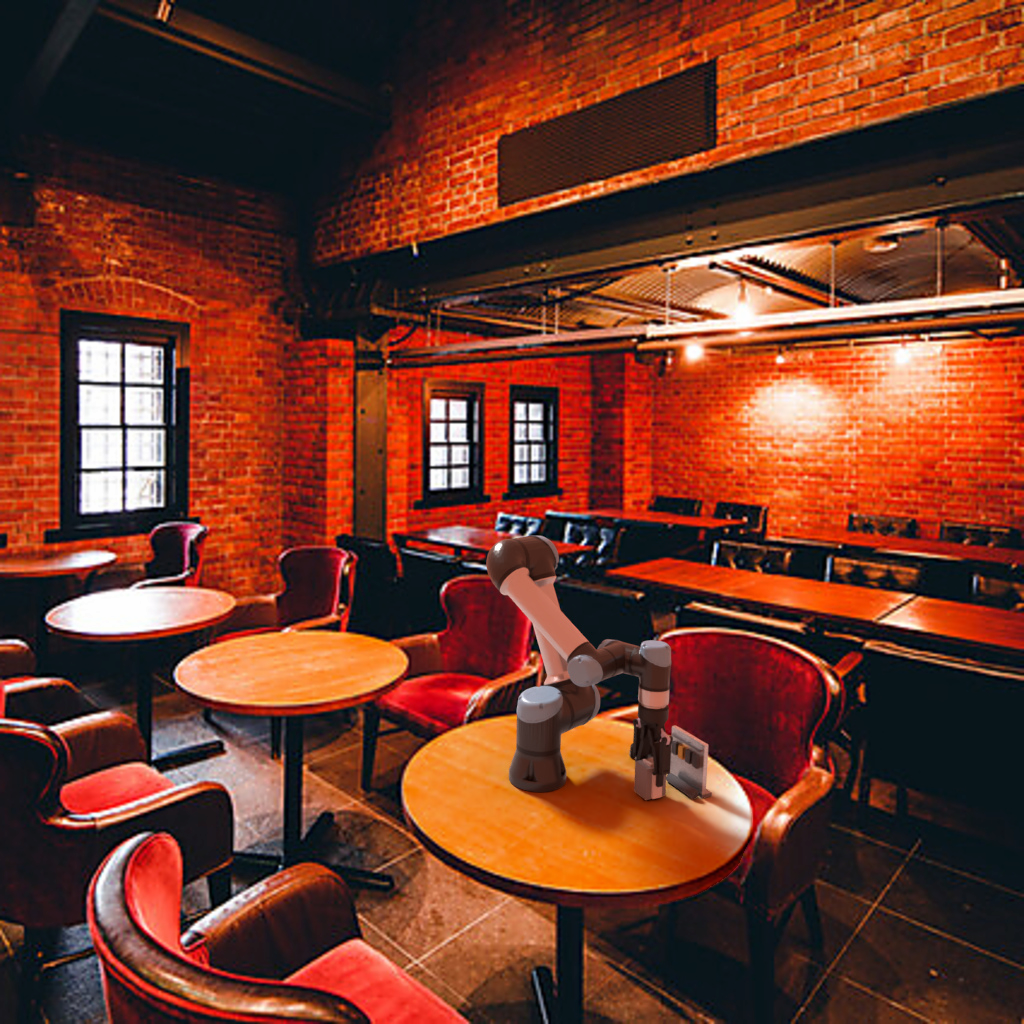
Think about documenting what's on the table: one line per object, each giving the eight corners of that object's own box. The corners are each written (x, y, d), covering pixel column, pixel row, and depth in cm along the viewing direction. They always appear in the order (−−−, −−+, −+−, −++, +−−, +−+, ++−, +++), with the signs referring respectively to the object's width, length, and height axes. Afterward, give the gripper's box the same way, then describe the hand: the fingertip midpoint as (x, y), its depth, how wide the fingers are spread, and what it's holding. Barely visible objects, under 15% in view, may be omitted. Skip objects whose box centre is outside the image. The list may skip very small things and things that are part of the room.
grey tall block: (645, 800, 182) (647, 767, 181) (634, 791, 186) (635, 758, 185) (668, 794, 185) (670, 762, 184) (656, 785, 189) (657, 754, 188)
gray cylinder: (698, 798, 185) (698, 789, 184) (690, 800, 184) (691, 791, 183) (673, 780, 194) (673, 772, 193) (665, 782, 193) (666, 773, 192)
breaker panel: (698, 799, 184) (701, 746, 182) (666, 776, 196) (669, 726, 194) (711, 796, 186) (714, 743, 184) (679, 774, 197) (681, 724, 196)
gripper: (688, 714, 176) (684, 806, 179) (644, 689, 192) (640, 774, 195) (663, 718, 173) (659, 812, 176) (620, 693, 189) (617, 779, 192)
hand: (649, 792), depth 185 cm, fingers closed on grey tall block, 5 cm apart
